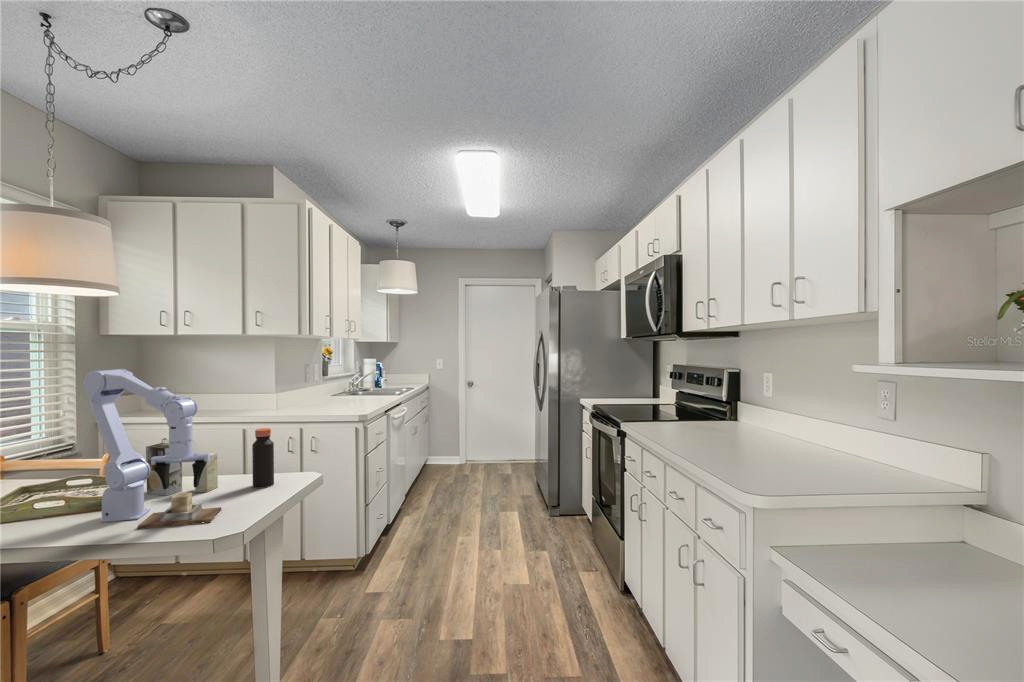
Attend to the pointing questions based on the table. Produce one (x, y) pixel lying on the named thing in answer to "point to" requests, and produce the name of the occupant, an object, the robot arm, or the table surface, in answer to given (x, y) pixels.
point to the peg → (181, 503)
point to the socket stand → (180, 517)
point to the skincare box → (209, 475)
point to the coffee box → (154, 480)
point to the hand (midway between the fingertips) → (181, 487)
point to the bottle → (263, 459)
